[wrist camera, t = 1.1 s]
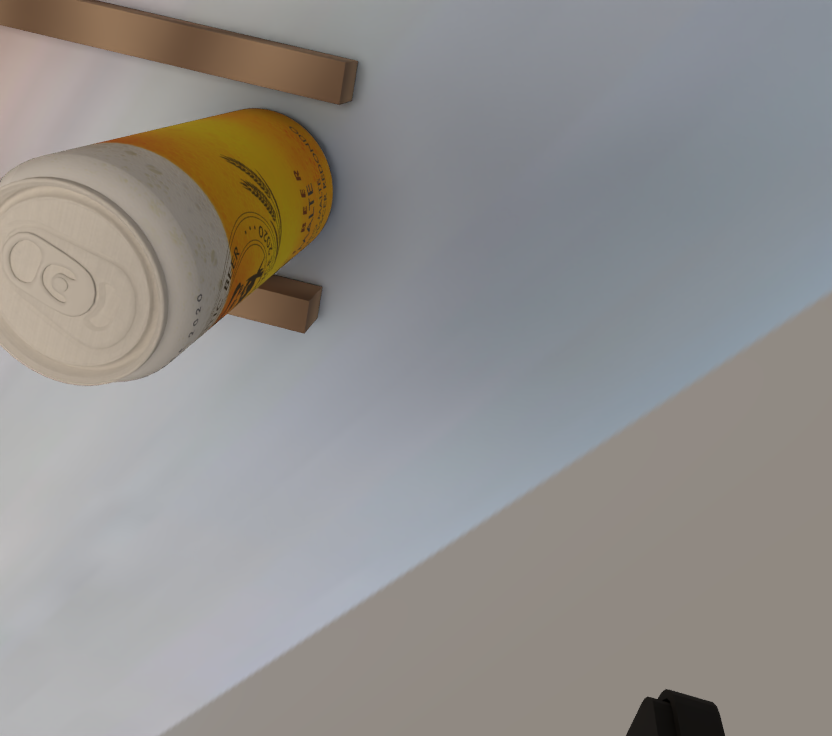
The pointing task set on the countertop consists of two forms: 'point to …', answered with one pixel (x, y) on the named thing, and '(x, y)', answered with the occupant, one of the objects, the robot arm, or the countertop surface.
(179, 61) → the u rest
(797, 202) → the countertop surface
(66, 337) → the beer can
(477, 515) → the countertop surface
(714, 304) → the countertop surface
